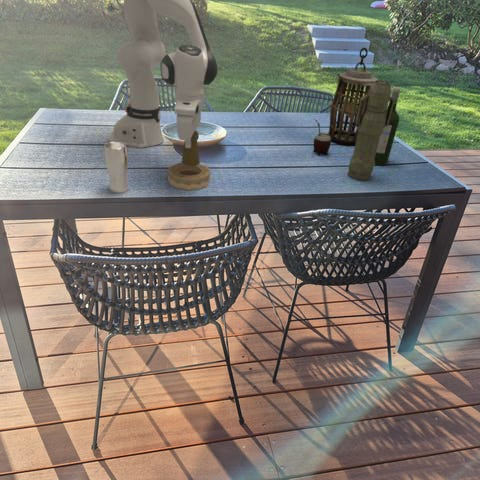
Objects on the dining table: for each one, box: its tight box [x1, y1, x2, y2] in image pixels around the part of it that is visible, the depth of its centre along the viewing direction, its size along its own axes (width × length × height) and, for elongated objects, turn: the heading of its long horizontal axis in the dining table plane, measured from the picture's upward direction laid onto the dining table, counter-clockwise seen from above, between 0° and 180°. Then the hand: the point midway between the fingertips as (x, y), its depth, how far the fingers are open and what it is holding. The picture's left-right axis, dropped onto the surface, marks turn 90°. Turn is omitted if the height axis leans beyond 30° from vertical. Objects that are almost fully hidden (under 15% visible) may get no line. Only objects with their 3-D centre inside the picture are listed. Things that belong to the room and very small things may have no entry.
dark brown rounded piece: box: [181, 130, 201, 166], centre depth 144 cm, size 6×6×11 cm
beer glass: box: [104, 141, 129, 194], centre depth 137 cm, size 7×7×15 cm
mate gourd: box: [312, 119, 332, 157], centre depth 179 cm, size 8×8×15 cm
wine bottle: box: [374, 87, 401, 166], centre depth 171 cm, size 8×8×30 cm
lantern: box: [327, 47, 379, 147], centre depth 189 cm, size 19×19×40 cm
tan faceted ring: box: [167, 162, 211, 191], centre depth 150 cm, size 14×14×4 cm
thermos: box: [347, 80, 395, 182], centre depth 156 cm, size 9×12×35 cm
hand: (190, 144), depth 143 cm, fingers closed on dark brown rounded piece, 4 cm apart
